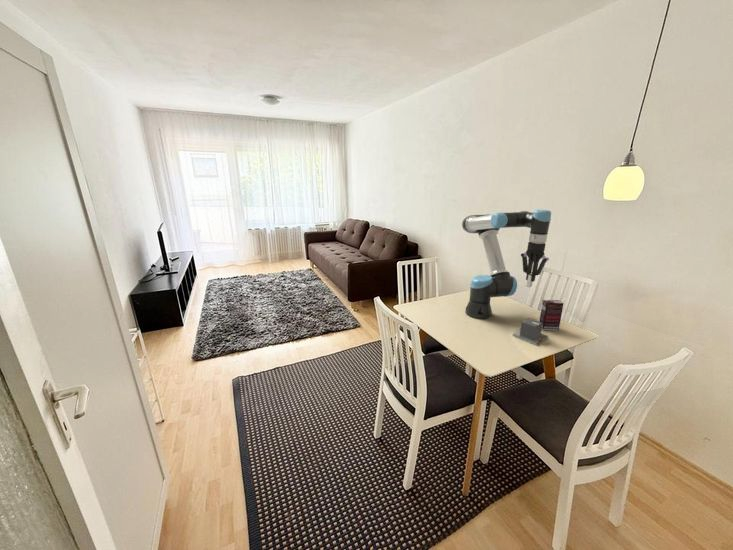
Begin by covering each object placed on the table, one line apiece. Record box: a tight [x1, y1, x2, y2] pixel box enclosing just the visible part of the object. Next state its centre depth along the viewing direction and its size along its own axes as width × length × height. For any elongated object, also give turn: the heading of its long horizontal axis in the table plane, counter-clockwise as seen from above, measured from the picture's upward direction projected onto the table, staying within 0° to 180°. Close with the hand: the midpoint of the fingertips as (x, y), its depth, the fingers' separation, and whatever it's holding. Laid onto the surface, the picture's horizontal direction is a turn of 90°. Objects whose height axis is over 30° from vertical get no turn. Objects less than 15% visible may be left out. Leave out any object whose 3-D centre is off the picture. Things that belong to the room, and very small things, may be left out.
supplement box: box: [538, 299, 564, 331], centre depth 158 cm, size 9×5×16 cm, turn 84°
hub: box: [512, 329, 549, 346], centre depth 151 cm, size 12×12×6 cm
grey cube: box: [519, 318, 542, 339], centre depth 150 cm, size 7×7×7 cm
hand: (529, 286), depth 153 cm, fingers closed
